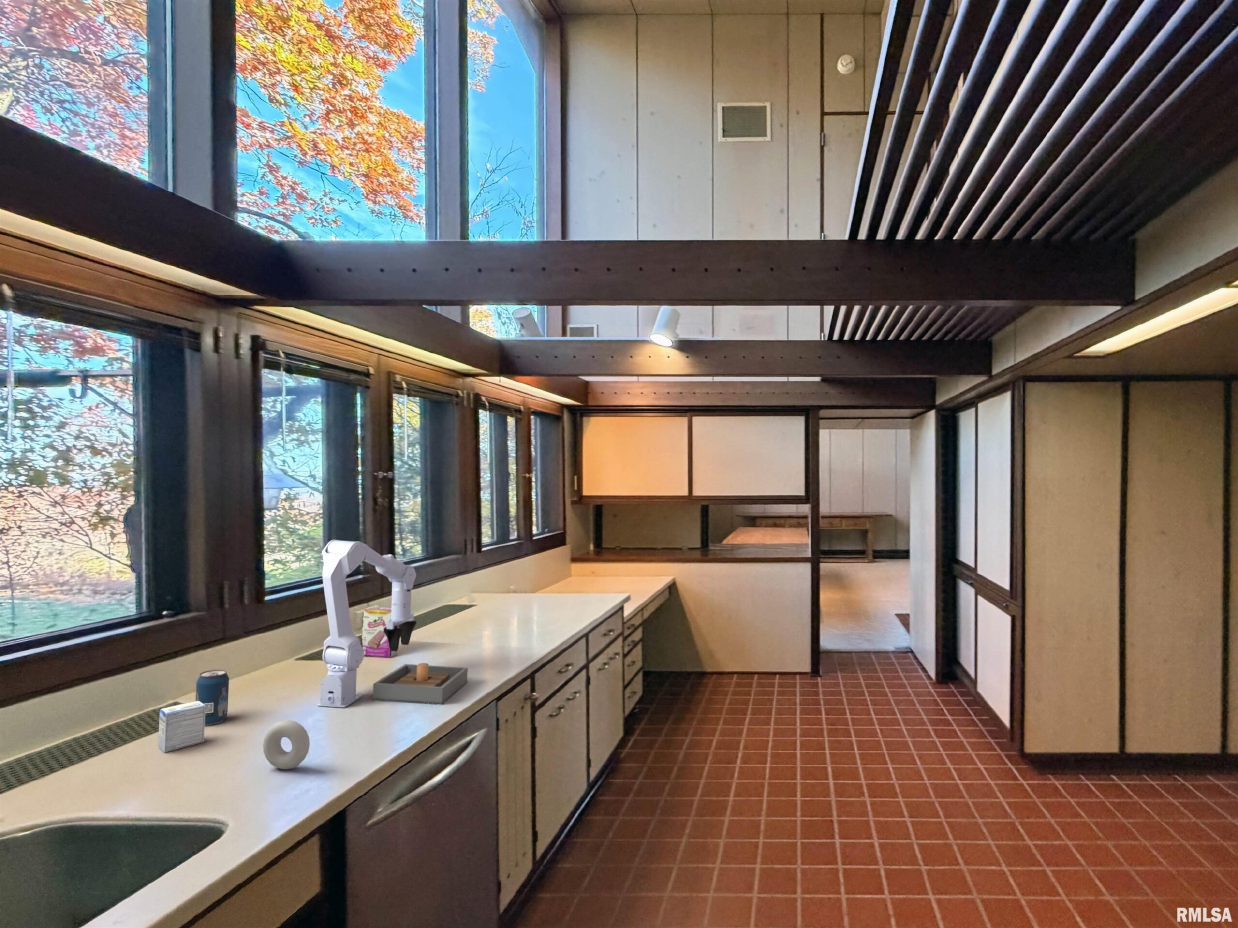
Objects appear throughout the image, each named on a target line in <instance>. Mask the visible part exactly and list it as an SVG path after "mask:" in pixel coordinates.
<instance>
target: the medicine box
mask: <svg viewBox="0 0 1238 928" xmlns="http://www.w3.org/2000/svg"><path fill="white" fill-rule="evenodd" d="M205 710H206V706H205V705H204V704H203V703H201V702H200V701H192V702H187V703H181V704H176V705H173V706H169V707H164V708H161V709H160V710H159V719H158V720H159V721H158V722H159V723H158V742H157V743H158V745H157V746H158V748H159V749H160V750H161V751H162V752H163V753H167V752H171V751H174V750H175V751H176V750H178V749H183V748H186V747H189V746H193V745H197V744H201V743H204V742H205V729H206V727H205Z"/></svg>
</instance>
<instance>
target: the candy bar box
mask: <svg viewBox="0 0 1238 928" xmlns="http://www.w3.org/2000/svg"><path fill="white" fill-rule="evenodd" d="M390 618H391V607H385V606H383V607H381V606H368V607H365V608H363V609H362V620H361V621H362V625H361V627H362V628H361V644H360V645H361V646H362V648H363V650H364V657H369V656H370V657H372V658H373V657H374V658H386V659H387V658H388V659H392V658H394V657H395V656H397V655H398V651H390V647H389V643H388V639H387V636H386V634H385V633H384V628H385V627H387V622H388V621H389V620H390ZM397 627H398V628H399V626H397Z"/></svg>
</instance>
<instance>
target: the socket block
mask: <svg viewBox="0 0 1238 928" xmlns="http://www.w3.org/2000/svg"><path fill="white" fill-rule="evenodd" d="M416 679H417V672H413V671H412V672H410V673H409V674H407V675H406V676H404V677H403V678H401V679H400V680H398V681H397V682H395V683H394V684H403V685H419V686H434V687H441V686H442V685H443V684H445V683H446V682H447V681H448V680H450V674H445V673H429V672H428V681H416Z"/></svg>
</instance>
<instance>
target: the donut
mask: <svg viewBox="0 0 1238 928" xmlns="http://www.w3.org/2000/svg"><path fill="white" fill-rule="evenodd" d="M283 738H287V739H288V740H289V742H291V743H290V744H291V750H290V751H286V750H284V748H283V747H282V746H283V745H282V739H283ZM310 746H311V744H310V736H309V733H308V731H307V730H306V729H305V727H304V726H303V725H302V724H301V723H299V722H298V721H294V720H290V719H285V720H280V721H278V722H276V723H274V724H273V725H271V727H270V728H269V729H267V731H266V733H265V735H264V738H263V741H262V750H263V752H262V753H263V754H264V757H265V759H266V760H267V762H268V763H269V764H270V765H272V766H273V767H274V768H276V769H280V770H290V769H293V768H295V767H298V766H299V765H301V763H302V762H304V761H305V759H306V758H307V755H308V754H309V751H310Z"/></svg>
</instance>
